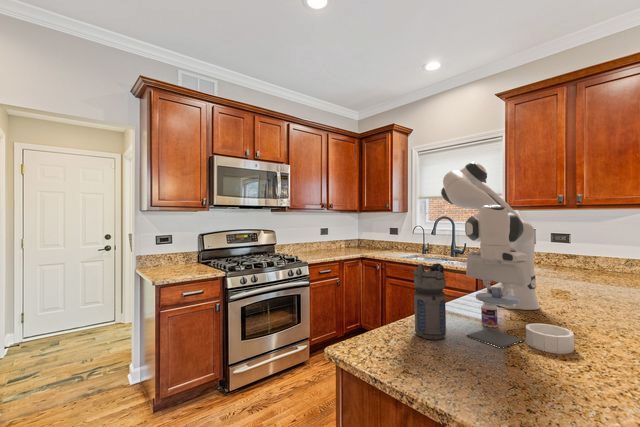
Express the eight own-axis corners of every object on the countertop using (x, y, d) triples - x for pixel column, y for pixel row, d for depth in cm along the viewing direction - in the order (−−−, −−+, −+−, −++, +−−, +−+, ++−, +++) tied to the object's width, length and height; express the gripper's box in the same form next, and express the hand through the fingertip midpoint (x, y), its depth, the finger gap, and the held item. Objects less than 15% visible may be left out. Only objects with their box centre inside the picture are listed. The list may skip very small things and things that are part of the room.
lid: (467, 298, 107) (467, 286, 107) (490, 293, 113) (489, 282, 113) (504, 306, 96) (504, 294, 96) (527, 300, 102) (527, 288, 102)
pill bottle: (479, 325, 117) (479, 299, 118) (483, 322, 121) (483, 296, 122) (495, 328, 114) (495, 302, 114) (499, 325, 118) (499, 299, 118)
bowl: (518, 343, 101) (517, 327, 101) (539, 336, 106) (538, 321, 106) (561, 357, 90) (560, 339, 90) (581, 348, 96) (581, 332, 96)
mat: (466, 336, 107) (466, 334, 107) (488, 330, 113) (488, 328, 113) (501, 349, 96) (501, 347, 96) (523, 341, 102) (523, 339, 102)
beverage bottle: (456, 334, 109) (454, 262, 109) (433, 344, 101) (431, 266, 101) (430, 326, 117) (429, 259, 117) (407, 335, 109) (406, 263, 110)
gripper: (461, 251, 112) (462, 290, 112) (521, 256, 94) (523, 303, 94) (472, 250, 115) (474, 288, 115) (533, 255, 97) (534, 299, 97)
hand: (496, 295), depth 104 cm, fingers closed on lid, 3 cm apart
